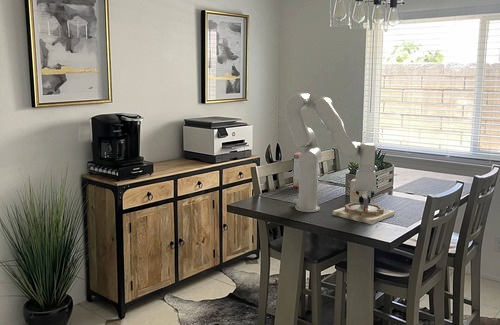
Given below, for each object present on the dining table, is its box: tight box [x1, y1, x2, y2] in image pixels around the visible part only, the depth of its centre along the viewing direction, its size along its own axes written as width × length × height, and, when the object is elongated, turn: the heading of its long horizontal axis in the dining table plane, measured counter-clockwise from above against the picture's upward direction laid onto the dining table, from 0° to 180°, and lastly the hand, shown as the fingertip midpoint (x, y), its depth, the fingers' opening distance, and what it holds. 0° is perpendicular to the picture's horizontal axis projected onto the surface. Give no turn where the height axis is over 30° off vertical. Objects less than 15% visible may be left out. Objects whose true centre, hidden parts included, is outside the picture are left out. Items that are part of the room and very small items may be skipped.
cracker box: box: [292, 151, 302, 188], centre depth 308 cm, size 14×6×21 cm, turn 42°
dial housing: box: [332, 202, 396, 225], centre depth 254 cm, size 22×22×4 cm
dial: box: [350, 195, 378, 211], centre depth 254 cm, size 14×14×7 cm
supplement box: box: [349, 178, 368, 203], centre depth 274 cm, size 8×5×13 cm, turn 56°
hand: (364, 204), depth 254 cm, fingers closed on dial, 2 cm apart
